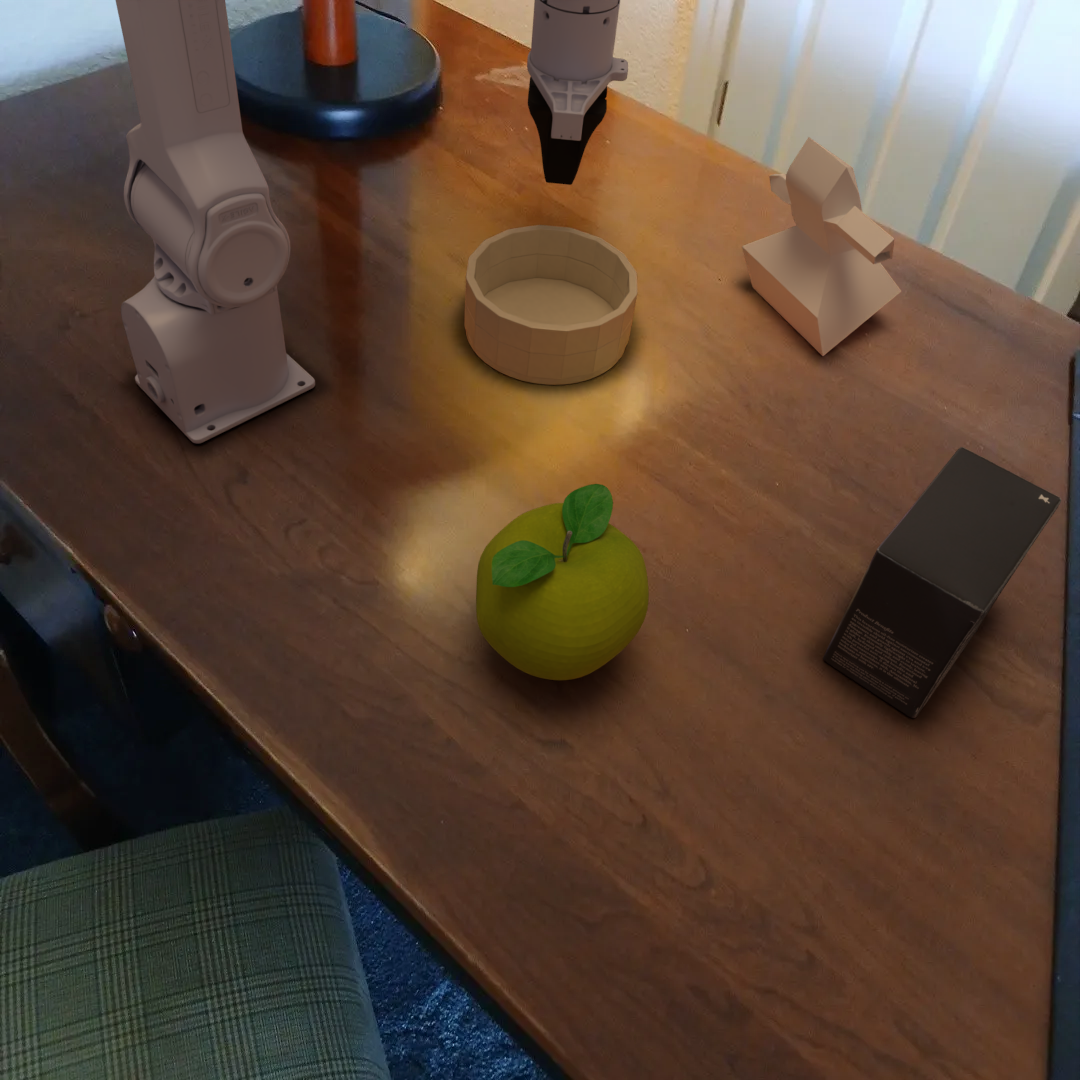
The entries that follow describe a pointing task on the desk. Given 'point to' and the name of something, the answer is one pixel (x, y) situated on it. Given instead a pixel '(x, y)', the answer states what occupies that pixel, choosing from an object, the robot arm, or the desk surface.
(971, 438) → the desk surface
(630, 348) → the desk surface
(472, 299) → the bowl
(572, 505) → the fruit
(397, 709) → the desk surface
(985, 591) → the small box
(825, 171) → the beige block sculpture
